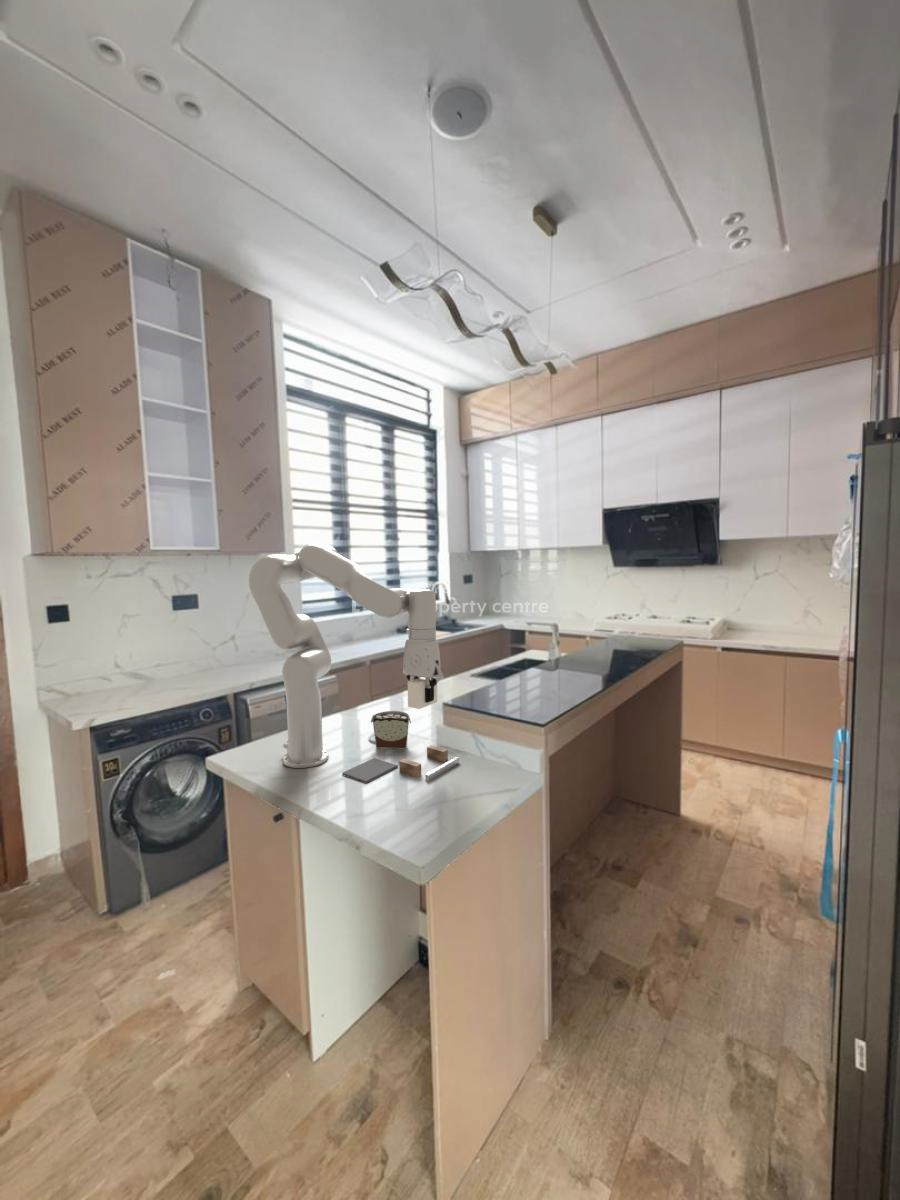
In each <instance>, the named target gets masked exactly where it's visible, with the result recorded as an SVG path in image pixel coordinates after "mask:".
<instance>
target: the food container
mask: <svg viewBox="0 0 900 1200" xmlns="http://www.w3.org/2000/svg"><path fill="white" fill-rule="evenodd" d="M370 723H372V726H373V733H374V741H375V742H374V743H375V748H376V749H390V748H391V749H392V748H406V747H407V748H408V736H409V735H408V734H409V725H410V724H411V723H412V721H411V718H410V715H409V714H408V713H407V712H404V711H398V710H389V711H388V710H387V711H381V712H378V713H375V714H373V715H372V716H371V721H370ZM407 748H406V749H407ZM392 750H393V749H392Z"/></svg>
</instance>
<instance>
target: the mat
mask: <svg viewBox="0 0 900 1200" xmlns="http://www.w3.org/2000/svg"><path fill="white" fill-rule="evenodd" d="M398 765H399V764H395V763H392V762H388V761H386V760H383V759H378V758H375V757H373V758H371V759H369V760H367V761H365V762H363V763H361V764H358V765H356V766H354V767H351V768H350V769H347V770H346V771H343V772H342V776H344V775H345V777H347V776H348V778H350V779H353V780H356V779H357V780H356V781H358V780H360V781H359V782H361V781H362V783H364V782H365V784H368V783H370V782H372V781H373V779H374V780H376V779H377V778H380V777H382V776H384V775H385V774H387V773H389V772H392V771H393V770H395V769H397V768H398ZM379 776H380V777H379ZM375 778H376V779H375ZM371 780H372V781H371ZM369 781H370V782H369ZM367 782H368V783H367Z"/></svg>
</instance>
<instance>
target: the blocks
mask: <svg viewBox="0 0 900 1200" xmlns="http://www.w3.org/2000/svg"><path fill="white" fill-rule="evenodd" d="M448 754H449V751H448V749H447V748H442V747H439V746H435V745H432V744H431V745H429V746H427V747H426V757H427V758H428V759H431V760H435V761H438V762H441V763H442V762H443V763H442V764H441V765H439V766H438V767H436V768H433V769H431V770H430V771H428V772H427V773H425V781H427V782H430V781H432V780H433V779H435V778H436V777H438V776H440V775H442V774H443V773H445V772H447V771H449V770H450V769H451V767H452V768H454V767H455V766H456V764H457V765H458V764H460V757H459V756H455V757H452V759H450V760H449V759H448V758H449V755H448ZM446 760H447V761H446ZM398 765H399V772H400V773H401V774H404V775H408V776H411V777H414V778H418V777H420V776H421V775H422V763H420V762H416V761H413V760H409V759H406V758H403V759H401V760H399V762H398ZM454 765H455V766H454Z"/></svg>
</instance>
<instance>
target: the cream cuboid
mask: <svg viewBox="0 0 900 1200" xmlns="http://www.w3.org/2000/svg"><path fill="white" fill-rule="evenodd" d="M435 678H436V676H435ZM430 682H431V678H430ZM425 688H427V686H426V680H425V678H423V677H420V678H417V679H414V680H410V681H409V680H407V708H412V709H417V710H421V709H423V708H426V707H429V706H432V705H433V704H437V703H438V683H437V684H436V686H435V687H434V700H433V701H431V702H428V703H426V702H425Z"/></svg>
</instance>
